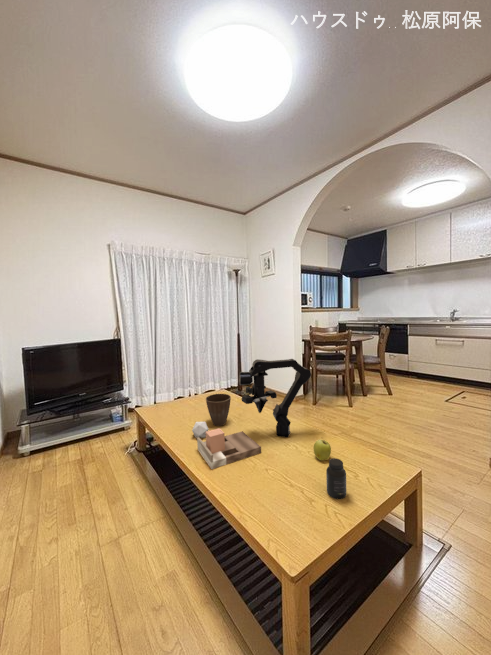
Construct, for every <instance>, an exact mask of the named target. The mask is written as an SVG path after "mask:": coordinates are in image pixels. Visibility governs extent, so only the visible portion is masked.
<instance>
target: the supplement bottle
mask: <svg viewBox="0 0 491 655" xmlns="http://www.w3.org/2000/svg"><path fill="white" fill-rule="evenodd" d="M325 476H326V479H325V480H326V493H327V494H328V496H329V497H330V498H332V499H334V500H343V499H345V498H346V497H347V472H346V469H345V468H344V462H343V460H341V458H340V459H339V458H335V457H333V458H330V459H328V466H327V468H326V475H325Z"/></svg>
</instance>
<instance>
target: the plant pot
mask: <svg viewBox="0 0 491 655" xmlns="http://www.w3.org/2000/svg"><path fill="white" fill-rule="evenodd" d="M231 400H232V396H231V395H230V394H226V393H215V394H210V395H208V396H206V398H205V402H206V407H207V412H208V414H209V417H210V419H211V422H212V424H213V425H214V426H216V427H221V426H224V425H226V423H227V419H228V417H229V416H228V415H229V412H230V407H231Z"/></svg>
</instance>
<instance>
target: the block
mask: <svg viewBox="0 0 491 655" xmlns="http://www.w3.org/2000/svg"><path fill="white" fill-rule="evenodd" d="M225 436H226V435H225V432H224V431H223V430H222V429H221V428H220V427H218V428H215V429H211V430H210V429H209V430H208V431H207V432H206V437H205V441H206V447H207V448H208V449H209V450H210V452H211V453H216V452H219V451H222V450H225Z"/></svg>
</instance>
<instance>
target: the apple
mask: <svg viewBox="0 0 491 655" xmlns="http://www.w3.org/2000/svg"><path fill="white" fill-rule="evenodd" d="M331 449H332V447H331V444H330V442H328V441H327V440H326V439H323V438H321V439H317V440H316V441H315V442H314V445H313V453H314V456H315V458H317V460H319V461H328V460H329V458H330V457H331V454H332V450H331Z"/></svg>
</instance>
